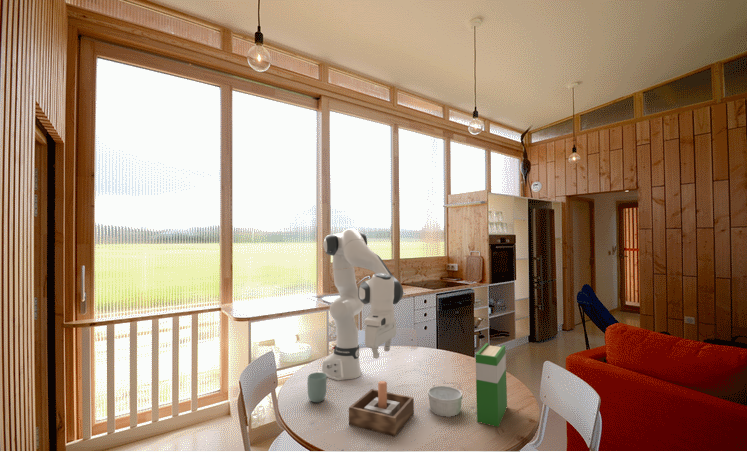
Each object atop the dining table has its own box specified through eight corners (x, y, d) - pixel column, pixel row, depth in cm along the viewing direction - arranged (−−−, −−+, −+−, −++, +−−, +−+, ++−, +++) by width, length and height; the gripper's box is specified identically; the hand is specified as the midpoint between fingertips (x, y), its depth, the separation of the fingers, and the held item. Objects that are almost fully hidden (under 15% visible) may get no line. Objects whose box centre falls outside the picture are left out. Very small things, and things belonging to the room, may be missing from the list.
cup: (329, 397, 143) (329, 373, 144) (320, 405, 136) (321, 380, 137) (313, 395, 146) (313, 371, 147) (303, 403, 139) (304, 377, 139)
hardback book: (487, 403, 138) (486, 342, 140) (507, 407, 134) (505, 345, 136) (477, 421, 123) (475, 354, 125) (498, 427, 119) (496, 357, 121)
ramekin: (456, 422, 123) (455, 402, 123) (422, 413, 130) (422, 394, 130) (467, 408, 134) (466, 389, 135) (435, 400, 141) (435, 383, 142)
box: (348, 424, 121) (348, 407, 122) (371, 404, 137) (371, 388, 138) (395, 437, 113) (394, 418, 114) (413, 413, 129) (413, 397, 130)
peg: (376, 417, 125) (376, 383, 126) (380, 413, 128) (380, 380, 129) (384, 419, 123) (384, 384, 124) (388, 415, 126) (388, 381, 127)
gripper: (386, 311, 139) (385, 346, 138) (362, 320, 120) (361, 360, 120) (400, 313, 136) (400, 348, 135) (377, 322, 118) (377, 363, 117)
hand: (381, 354), depth 127 cm, fingers open, 8 cm apart
